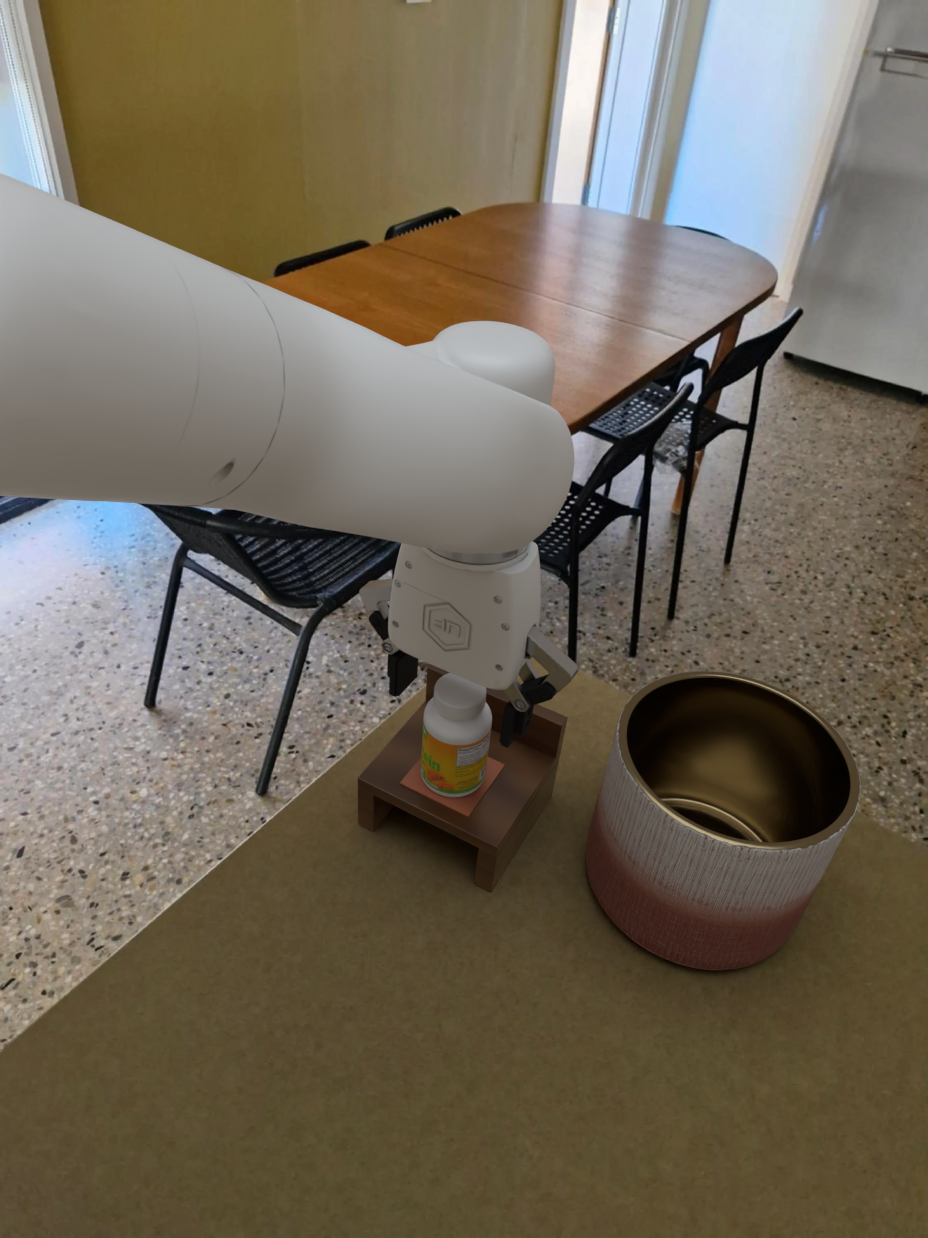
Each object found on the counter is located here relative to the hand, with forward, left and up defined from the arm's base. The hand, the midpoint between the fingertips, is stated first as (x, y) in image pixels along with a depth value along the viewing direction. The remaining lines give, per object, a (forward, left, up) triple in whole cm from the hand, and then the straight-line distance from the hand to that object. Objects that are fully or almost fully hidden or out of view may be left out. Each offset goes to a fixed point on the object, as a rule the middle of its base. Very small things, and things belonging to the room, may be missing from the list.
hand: (456, 710), depth 68 cm
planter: (+6, -20, -14) cm, 25 cm away
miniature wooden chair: (+2, 0, -14) cm, 14 cm away
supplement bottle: (0, 0, -8) cm, 8 cm away
